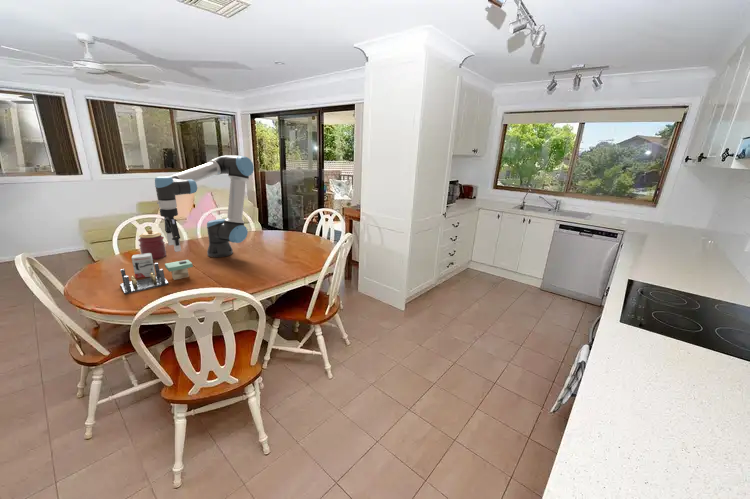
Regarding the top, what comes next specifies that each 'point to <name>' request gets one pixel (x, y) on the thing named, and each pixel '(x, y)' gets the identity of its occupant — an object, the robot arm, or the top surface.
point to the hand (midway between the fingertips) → (174, 248)
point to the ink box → (143, 265)
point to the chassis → (143, 281)
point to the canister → (152, 244)
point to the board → (178, 265)
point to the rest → (180, 274)
